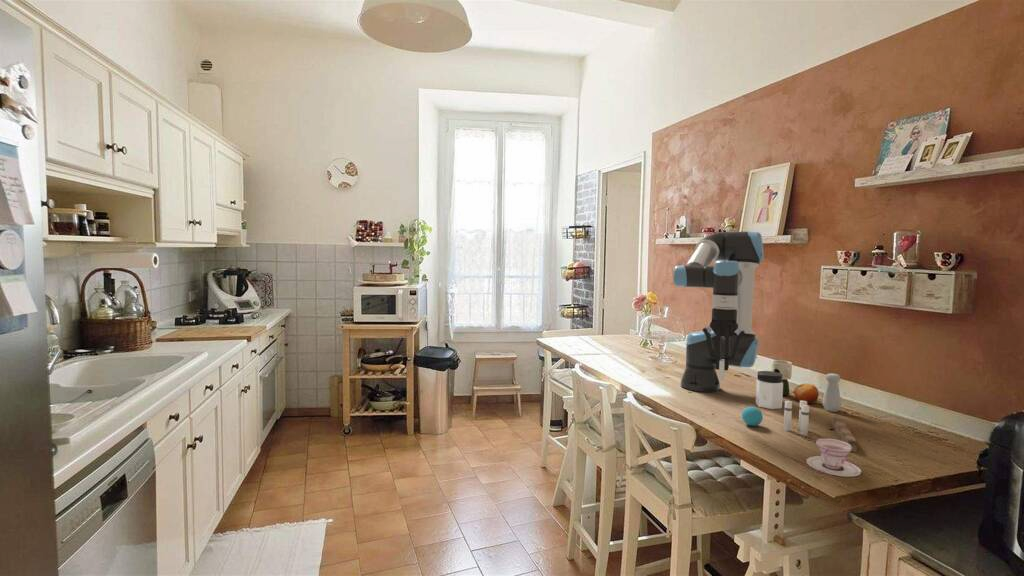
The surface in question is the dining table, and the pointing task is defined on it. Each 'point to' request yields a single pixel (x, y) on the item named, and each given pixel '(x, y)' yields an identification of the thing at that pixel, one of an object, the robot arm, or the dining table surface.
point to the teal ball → (752, 416)
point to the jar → (769, 389)
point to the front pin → (787, 415)
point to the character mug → (783, 372)
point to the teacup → (833, 458)
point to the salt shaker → (832, 393)
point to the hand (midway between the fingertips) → (721, 379)
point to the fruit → (806, 393)
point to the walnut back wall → (844, 432)
